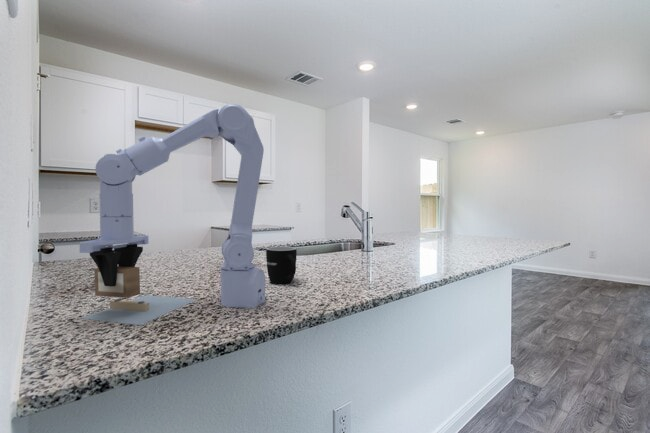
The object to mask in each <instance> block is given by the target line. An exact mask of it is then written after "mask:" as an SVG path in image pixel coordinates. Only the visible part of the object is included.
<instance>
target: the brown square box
mask: <svg viewBox="0 0 650 433" xmlns="http://www.w3.org/2000/svg"><path fill="white" fill-rule="evenodd" d="M140 274H141V273H140V267H138V266H135V267H122V266H118V267H117V281H116V286H113V287H111V286H105V285H104V282H103V279H102V276H101V273H100V271H99V269H98V267H96V268H94V296H95V297H107V298H108V297H109V298H110V297H111V298H124V299H129V298H132V297H134V296H138V295H141V286H140V285H141V280H140V279H141V278H140V277H141V276H140Z"/></svg>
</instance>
